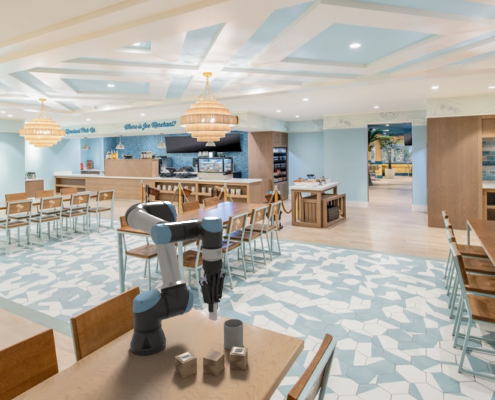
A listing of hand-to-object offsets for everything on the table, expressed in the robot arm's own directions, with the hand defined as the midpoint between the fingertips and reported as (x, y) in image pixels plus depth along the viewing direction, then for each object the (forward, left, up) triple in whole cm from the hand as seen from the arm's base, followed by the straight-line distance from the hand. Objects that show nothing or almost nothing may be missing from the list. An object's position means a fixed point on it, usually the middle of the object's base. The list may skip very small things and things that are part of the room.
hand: (213, 319), depth 130 cm
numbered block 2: (+6, +8, -21) cm, 23 cm away
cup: (-5, +19, -21) cm, 29 cm away
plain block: (0, 0, -21) cm, 21 cm away
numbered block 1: (-8, -7, -21) cm, 23 cm away
